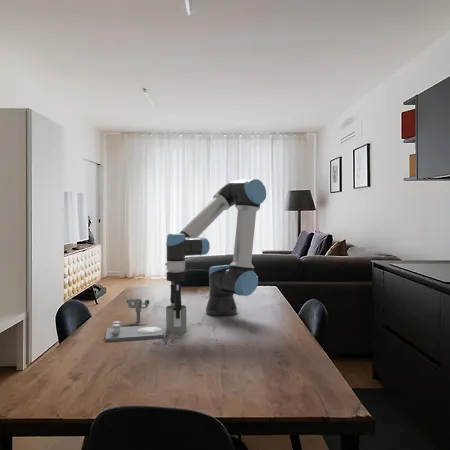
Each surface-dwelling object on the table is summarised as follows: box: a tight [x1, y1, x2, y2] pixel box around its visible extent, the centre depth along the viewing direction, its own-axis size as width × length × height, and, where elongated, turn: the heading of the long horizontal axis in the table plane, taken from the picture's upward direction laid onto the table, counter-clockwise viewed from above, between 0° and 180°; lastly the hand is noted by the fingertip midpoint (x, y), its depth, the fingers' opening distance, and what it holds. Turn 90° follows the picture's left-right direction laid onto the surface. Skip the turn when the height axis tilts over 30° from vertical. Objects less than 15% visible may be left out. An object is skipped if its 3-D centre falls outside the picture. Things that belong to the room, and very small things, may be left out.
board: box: [104, 320, 165, 343], centre depth 177 cm, size 22×16×5 cm
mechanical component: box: [126, 298, 150, 323], centre depth 198 cm, size 3×10×10 cm, turn 78°
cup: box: [165, 304, 187, 335], centre depth 181 cm, size 8×8×10 cm
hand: (175, 322), depth 181 cm, fingers open, 13 cm apart
